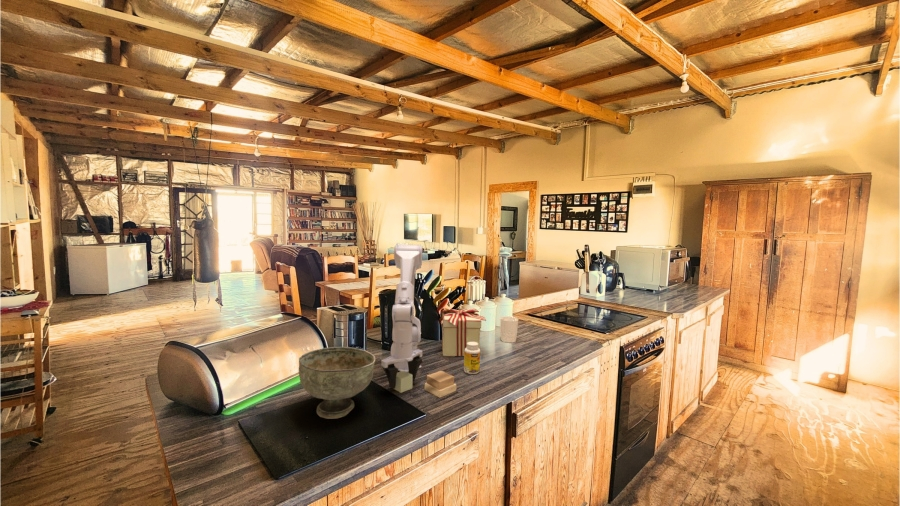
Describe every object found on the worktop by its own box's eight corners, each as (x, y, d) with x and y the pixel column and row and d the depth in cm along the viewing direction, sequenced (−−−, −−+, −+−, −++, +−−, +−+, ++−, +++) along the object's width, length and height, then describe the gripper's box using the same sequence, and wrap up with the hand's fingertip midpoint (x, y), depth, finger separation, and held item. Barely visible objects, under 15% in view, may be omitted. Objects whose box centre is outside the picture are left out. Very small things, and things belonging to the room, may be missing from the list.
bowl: (386, 410, 102) (387, 357, 101) (318, 437, 89) (318, 377, 88) (351, 386, 117) (351, 339, 115) (288, 406, 103) (287, 354, 102)
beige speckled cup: (520, 339, 167) (520, 318, 166) (513, 344, 160) (514, 322, 159) (503, 336, 171) (504, 315, 170) (496, 341, 164) (497, 319, 163)
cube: (392, 388, 116) (392, 374, 116) (403, 383, 119) (403, 370, 119) (400, 393, 113) (401, 378, 113) (412, 388, 116) (412, 374, 116)
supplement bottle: (470, 376, 126) (470, 347, 126) (460, 370, 131) (461, 342, 130) (482, 372, 130) (483, 344, 129) (473, 367, 134) (474, 339, 133)
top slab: (426, 383, 115) (426, 375, 115) (441, 377, 120) (441, 370, 119) (439, 390, 111) (439, 382, 111) (453, 384, 115) (454, 376, 115)
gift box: (443, 360, 140) (444, 316, 138) (439, 344, 158) (439, 304, 156) (487, 359, 142) (489, 315, 140) (478, 343, 160) (479, 304, 159)
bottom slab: (424, 391, 116) (424, 383, 115) (440, 384, 120) (440, 377, 120) (439, 399, 111) (439, 391, 110) (456, 391, 116) (456, 384, 115)
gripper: (391, 350, 107) (390, 395, 108) (428, 339, 117) (428, 381, 118) (377, 344, 112) (377, 387, 113) (414, 334, 122) (414, 374, 123)
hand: (402, 383), depth 116 cm, fingers open, 7 cm apart
